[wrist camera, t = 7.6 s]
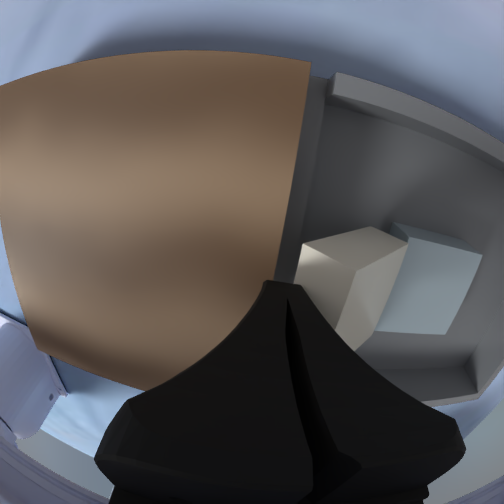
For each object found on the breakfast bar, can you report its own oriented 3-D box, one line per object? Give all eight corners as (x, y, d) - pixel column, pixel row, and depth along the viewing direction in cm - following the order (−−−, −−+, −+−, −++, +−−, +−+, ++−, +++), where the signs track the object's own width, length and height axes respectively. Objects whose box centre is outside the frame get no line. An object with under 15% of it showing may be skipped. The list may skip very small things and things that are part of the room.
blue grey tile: (372, 330, 13) (363, 307, 14) (445, 334, 13) (431, 314, 14) (409, 237, 11) (392, 221, 12) (482, 255, 11) (463, 240, 12)
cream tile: (341, 315, 14) (371, 335, 13) (274, 357, 11) (310, 387, 10) (370, 226, 12) (408, 243, 11) (302, 243, 9) (356, 271, 7)
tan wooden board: (249, 362, 17) (243, 412, 14) (65, 316, 17) (37, 349, 14) (300, 83, 11) (311, 62, 7) (48, 86, 11) (-1, 86, 7)
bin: (462, 369, 17) (478, 398, 14) (251, 362, 17) (246, 405, 14) (543, 186, 10) (576, 202, 7) (302, 83, 11) (312, 66, 7)
